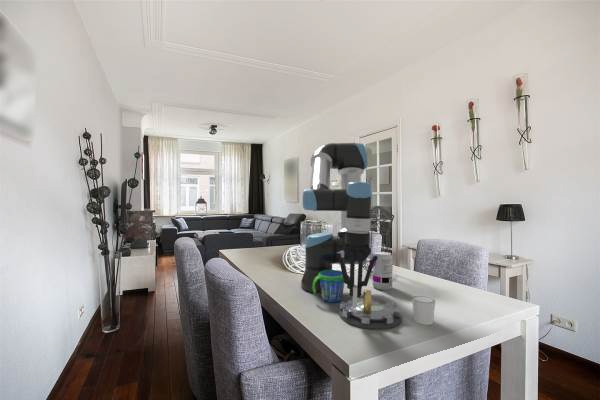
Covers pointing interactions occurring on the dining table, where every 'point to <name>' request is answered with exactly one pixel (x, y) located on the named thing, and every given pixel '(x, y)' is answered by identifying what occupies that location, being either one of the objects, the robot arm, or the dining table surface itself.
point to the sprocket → (370, 309)
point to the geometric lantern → (380, 229)
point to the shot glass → (423, 310)
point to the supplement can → (383, 271)
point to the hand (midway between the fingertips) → (354, 306)
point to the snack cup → (330, 285)
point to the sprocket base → (372, 324)
